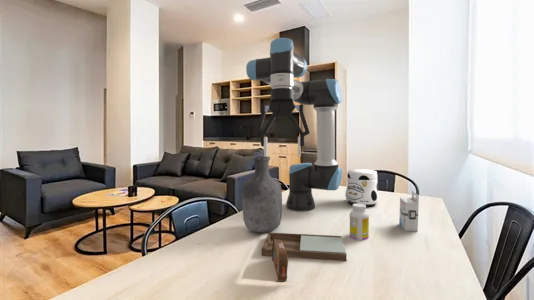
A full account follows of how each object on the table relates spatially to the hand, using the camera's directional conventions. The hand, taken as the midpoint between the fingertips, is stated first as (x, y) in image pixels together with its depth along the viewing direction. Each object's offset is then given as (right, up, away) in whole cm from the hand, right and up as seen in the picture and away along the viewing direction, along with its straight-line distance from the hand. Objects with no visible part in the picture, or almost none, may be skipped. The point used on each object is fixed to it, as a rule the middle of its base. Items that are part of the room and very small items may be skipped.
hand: (282, 156), depth 90 cm
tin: (-2, -33, -13) cm, 36 cm away
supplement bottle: (+29, -31, +11) cm, 44 cm away
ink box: (+53, -30, +22) cm, 65 cm away
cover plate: (+13, -31, 0) cm, 33 cm away
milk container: (+47, -28, +59) cm, 81 cm away
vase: (-7, -31, +21) cm, 38 cm away
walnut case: (+7, -32, +1) cm, 33 cm away
